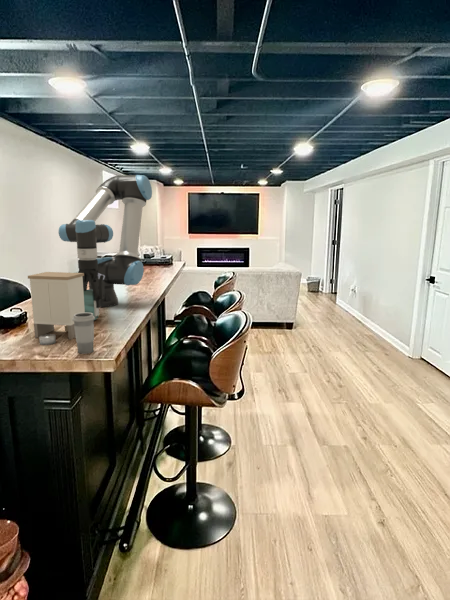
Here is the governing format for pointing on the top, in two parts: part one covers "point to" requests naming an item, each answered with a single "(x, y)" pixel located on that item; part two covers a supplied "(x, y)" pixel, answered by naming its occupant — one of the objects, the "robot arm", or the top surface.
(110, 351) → the top surface
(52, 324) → the cupboard
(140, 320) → the top surface
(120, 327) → the top surface
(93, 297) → the teal mallet
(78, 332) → the cup
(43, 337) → the steel puck
